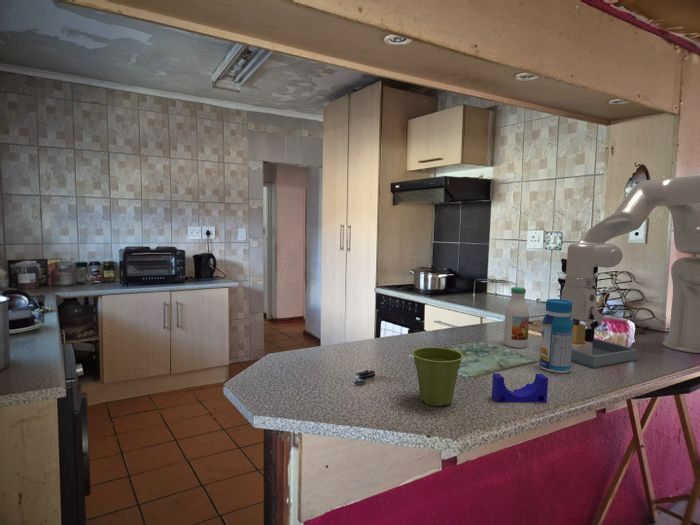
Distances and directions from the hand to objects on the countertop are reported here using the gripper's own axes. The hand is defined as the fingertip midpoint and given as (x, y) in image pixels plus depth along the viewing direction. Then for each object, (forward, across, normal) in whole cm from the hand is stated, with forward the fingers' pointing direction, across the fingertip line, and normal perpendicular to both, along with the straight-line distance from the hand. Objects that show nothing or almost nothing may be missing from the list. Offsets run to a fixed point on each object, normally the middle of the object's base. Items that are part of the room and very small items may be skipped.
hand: (575, 337), depth 138 cm
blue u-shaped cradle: (+7, -18, +42) cm, 47 cm away
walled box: (+6, -1, -6) cm, 9 cm away
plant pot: (+7, -12, +62) cm, 63 cm away
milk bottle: (+7, +17, +8) cm, 20 cm away
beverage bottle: (+7, -6, +16) cm, 18 cm away
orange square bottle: (+6, 0, 0) cm, 6 cm away
